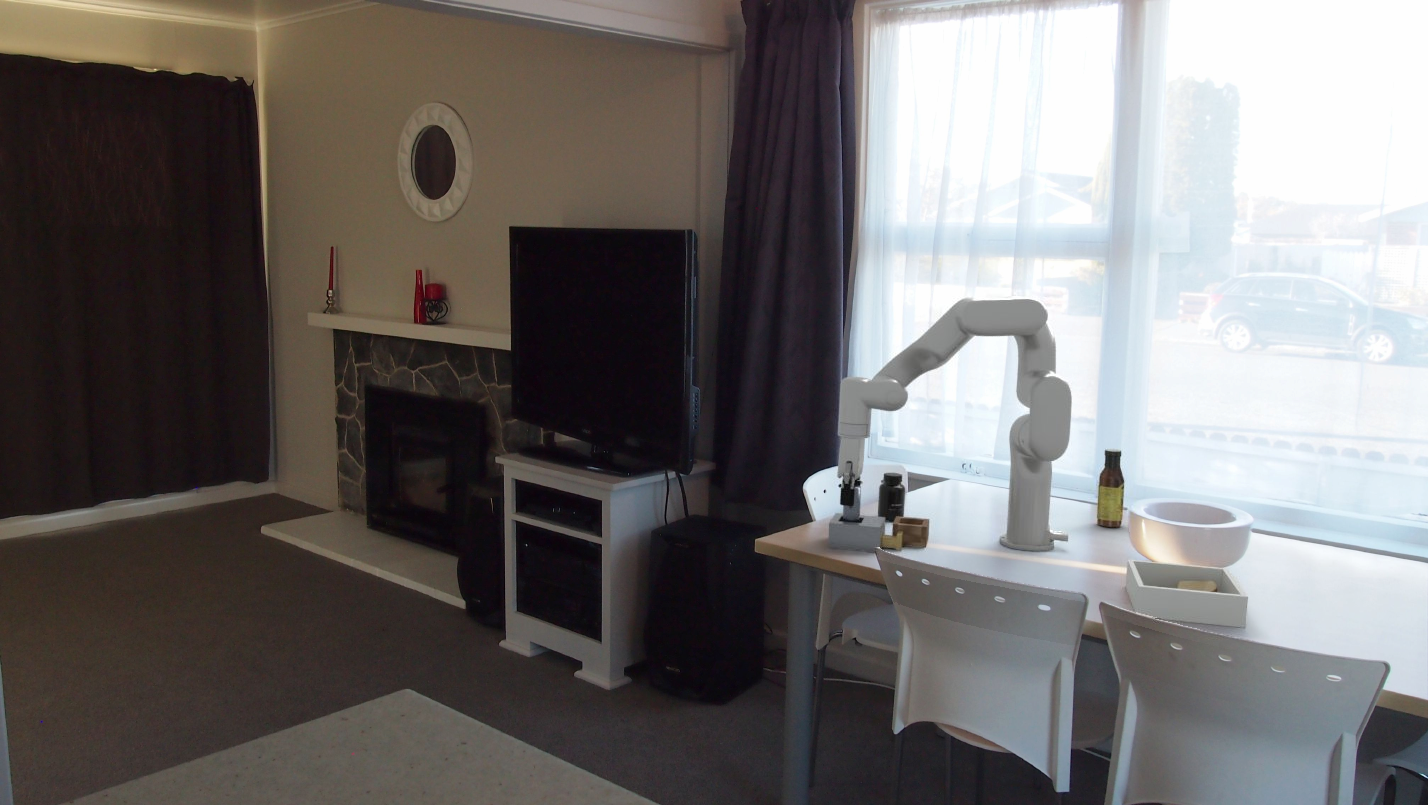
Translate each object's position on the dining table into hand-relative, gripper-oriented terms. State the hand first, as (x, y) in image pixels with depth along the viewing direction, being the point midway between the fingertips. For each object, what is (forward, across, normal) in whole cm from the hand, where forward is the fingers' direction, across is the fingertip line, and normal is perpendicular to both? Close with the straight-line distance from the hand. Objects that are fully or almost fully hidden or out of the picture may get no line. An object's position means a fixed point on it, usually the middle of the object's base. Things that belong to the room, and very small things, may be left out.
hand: (850, 500), depth 242 cm
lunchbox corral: (+9, +23, +70) cm, 74 cm away
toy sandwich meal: (+10, +20, +71) cm, 74 cm away
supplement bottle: (+10, -28, +7) cm, 31 cm away
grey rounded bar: (+10, 0, +1) cm, 11 cm away
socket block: (+10, 0, +2) cm, 11 cm away
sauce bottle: (+9, -41, +62) cm, 75 cm away
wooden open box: (+10, -7, +14) cm, 19 cm away
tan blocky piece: (+10, 0, +8) cm, 13 cm away
